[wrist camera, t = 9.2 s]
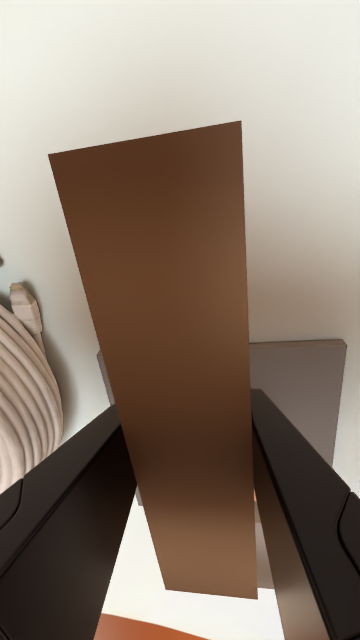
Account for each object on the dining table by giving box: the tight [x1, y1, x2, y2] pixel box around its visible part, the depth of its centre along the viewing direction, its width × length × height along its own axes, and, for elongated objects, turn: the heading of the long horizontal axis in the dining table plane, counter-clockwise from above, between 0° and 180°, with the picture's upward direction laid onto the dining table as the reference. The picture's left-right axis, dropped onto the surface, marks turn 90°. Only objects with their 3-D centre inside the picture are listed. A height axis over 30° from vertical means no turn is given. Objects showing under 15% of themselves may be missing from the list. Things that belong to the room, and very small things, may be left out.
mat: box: [97, 340, 347, 506], centre depth 19 cm, size 14×14×1 cm
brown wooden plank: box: [48, 121, 274, 600], centre depth 9 cm, size 16×5×3 cm, turn 8°
